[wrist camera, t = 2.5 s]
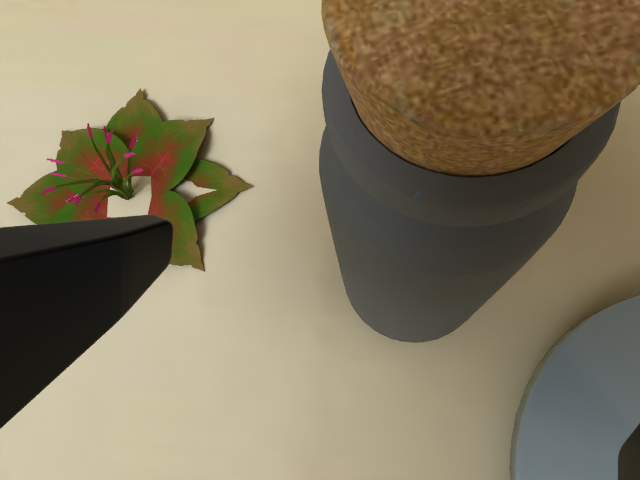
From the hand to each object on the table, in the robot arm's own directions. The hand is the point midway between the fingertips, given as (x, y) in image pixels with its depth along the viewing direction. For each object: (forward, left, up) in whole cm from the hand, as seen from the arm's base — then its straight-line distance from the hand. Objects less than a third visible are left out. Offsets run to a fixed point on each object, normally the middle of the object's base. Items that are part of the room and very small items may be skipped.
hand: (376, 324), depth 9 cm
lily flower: (+11, +9, -12) cm, 19 cm away
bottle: (+3, -3, -12) cm, 12 cm away
